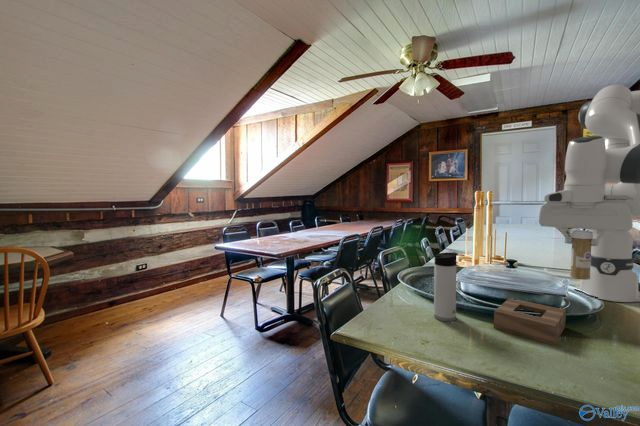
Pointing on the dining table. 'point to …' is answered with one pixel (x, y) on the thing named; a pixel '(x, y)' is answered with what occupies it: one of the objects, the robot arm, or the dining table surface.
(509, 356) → the dining table surface
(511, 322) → the walnut socket block
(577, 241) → the sprinkles bottle
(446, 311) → the travel mug
